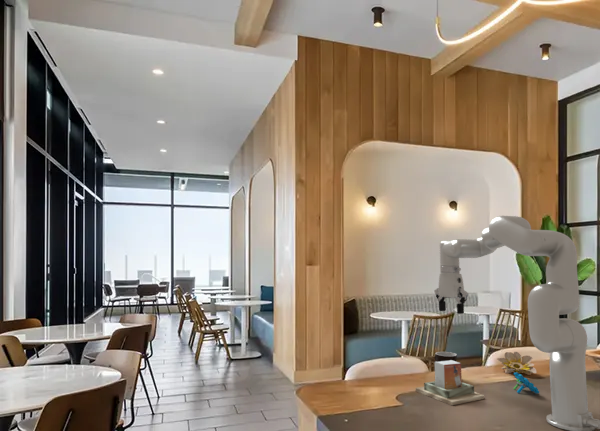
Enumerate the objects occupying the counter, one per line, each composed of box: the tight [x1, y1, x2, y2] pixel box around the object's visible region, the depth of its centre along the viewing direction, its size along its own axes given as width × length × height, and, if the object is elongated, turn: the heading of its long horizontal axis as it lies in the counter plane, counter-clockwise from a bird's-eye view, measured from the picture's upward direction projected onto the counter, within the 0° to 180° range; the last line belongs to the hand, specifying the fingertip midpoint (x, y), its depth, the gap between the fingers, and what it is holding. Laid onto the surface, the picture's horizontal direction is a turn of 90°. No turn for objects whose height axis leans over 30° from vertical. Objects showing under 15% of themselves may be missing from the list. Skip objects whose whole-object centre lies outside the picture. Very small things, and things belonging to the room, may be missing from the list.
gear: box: [513, 372, 540, 395], centre depth 163 cm, size 11×6×10 cm
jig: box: [415, 380, 485, 406], centre depth 160 cm, size 18×16×4 cm
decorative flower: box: [496, 351, 537, 375], centre depth 190 cm, size 15×11×10 cm
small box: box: [434, 360, 463, 390], centre depth 161 cm, size 8×6×10 cm
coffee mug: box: [434, 351, 457, 362], centre depth 184 cm, size 12×9×10 cm
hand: (451, 312), depth 178 cm, fingers open, 9 cm apart
